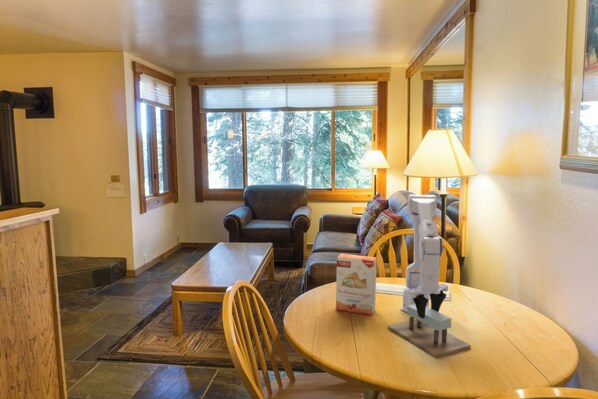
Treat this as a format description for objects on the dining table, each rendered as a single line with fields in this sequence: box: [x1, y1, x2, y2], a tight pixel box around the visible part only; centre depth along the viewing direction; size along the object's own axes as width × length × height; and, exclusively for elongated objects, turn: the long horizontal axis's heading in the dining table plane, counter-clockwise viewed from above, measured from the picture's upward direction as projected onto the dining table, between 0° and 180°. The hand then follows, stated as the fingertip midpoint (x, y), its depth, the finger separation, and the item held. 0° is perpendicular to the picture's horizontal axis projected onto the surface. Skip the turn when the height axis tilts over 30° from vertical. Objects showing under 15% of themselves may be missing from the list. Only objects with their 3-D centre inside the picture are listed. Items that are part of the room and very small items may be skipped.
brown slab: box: [387, 316, 472, 359], centre depth 128 cm, size 22×14×5 cm, turn 26°
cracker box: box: [335, 253, 378, 316], centre depth 150 cm, size 14×6×21 cm, turn 68°
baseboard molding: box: [376, 282, 451, 302], centre depth 170 cm, size 31×3×12 cm
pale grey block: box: [406, 304, 452, 331], centre depth 128 cm, size 14×5×3 cm, turn 26°
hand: (427, 315), depth 128 cm, fingers closed on pale grey block, 5 cm apart
